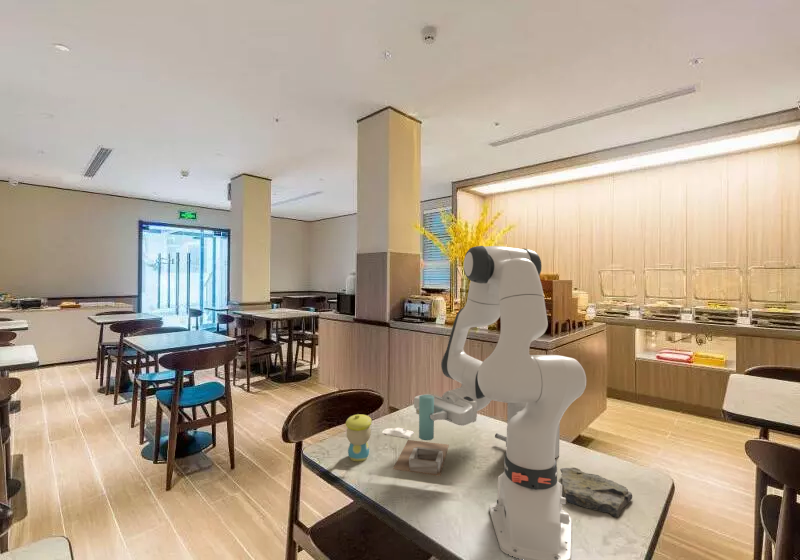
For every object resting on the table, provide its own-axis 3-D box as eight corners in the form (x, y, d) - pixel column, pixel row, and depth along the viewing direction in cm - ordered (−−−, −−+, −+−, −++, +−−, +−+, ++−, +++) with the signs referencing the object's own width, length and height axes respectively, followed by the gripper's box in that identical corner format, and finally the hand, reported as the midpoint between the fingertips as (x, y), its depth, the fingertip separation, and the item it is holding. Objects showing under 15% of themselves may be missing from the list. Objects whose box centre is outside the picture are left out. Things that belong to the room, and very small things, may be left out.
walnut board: (440, 481, 106) (440, 465, 106) (392, 474, 109) (392, 458, 109) (448, 449, 125) (449, 435, 125) (408, 444, 129) (408, 431, 128)
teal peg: (432, 441, 109) (432, 400, 109) (417, 439, 110) (417, 398, 110) (434, 434, 113) (435, 395, 113) (420, 433, 114) (420, 394, 114)
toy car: (384, 432, 139) (384, 423, 139) (415, 437, 134) (415, 428, 134) (378, 438, 134) (378, 429, 134) (410, 444, 129) (410, 434, 129)
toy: (373, 455, 120) (373, 409, 120) (368, 470, 111) (368, 420, 111) (349, 454, 121) (349, 408, 121) (342, 469, 112) (342, 419, 112)
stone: (633, 495, 100) (633, 482, 100) (625, 525, 88) (625, 510, 88) (562, 473, 111) (563, 462, 111) (547, 497, 99) (547, 484, 99)
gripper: (431, 386, 128) (401, 395, 119) (480, 402, 113) (450, 413, 103) (431, 405, 128) (400, 415, 119) (480, 423, 113) (450, 436, 103)
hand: (424, 414), depth 111 cm, fingers closed on teal peg, 4 cm apart
